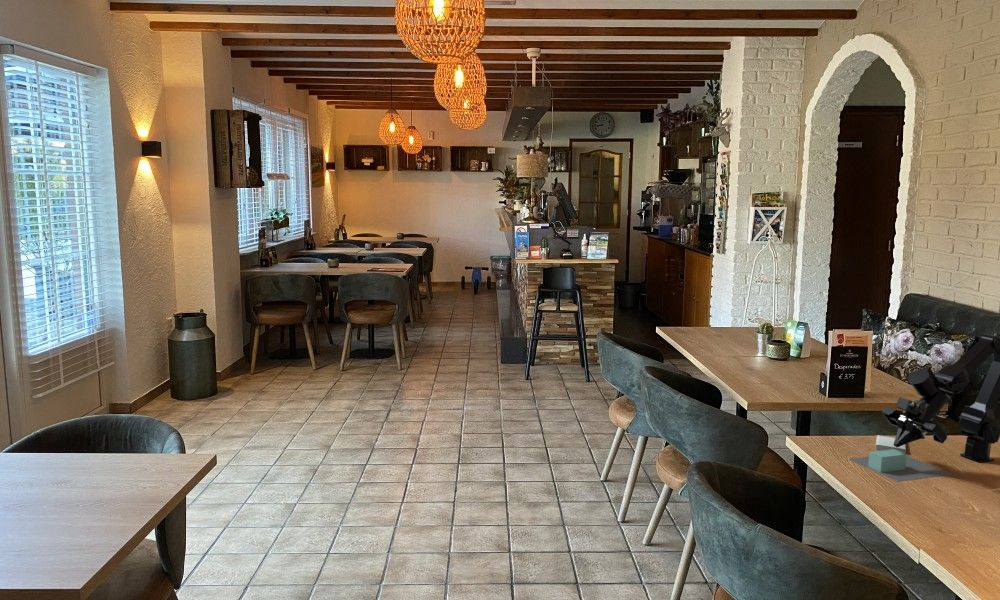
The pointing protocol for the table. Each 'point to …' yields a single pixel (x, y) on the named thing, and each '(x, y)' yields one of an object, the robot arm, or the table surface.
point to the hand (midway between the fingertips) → (895, 446)
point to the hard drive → (888, 444)
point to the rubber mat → (907, 470)
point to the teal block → (887, 460)
